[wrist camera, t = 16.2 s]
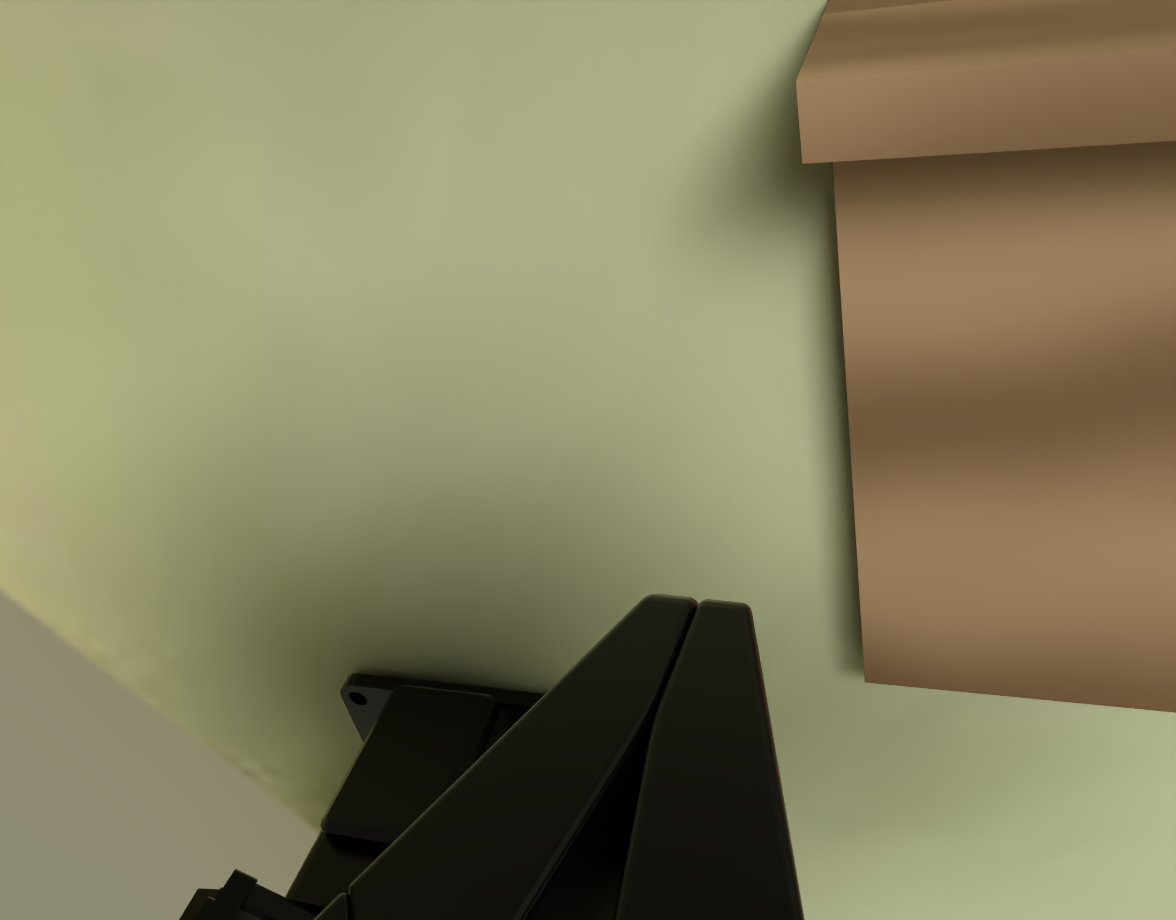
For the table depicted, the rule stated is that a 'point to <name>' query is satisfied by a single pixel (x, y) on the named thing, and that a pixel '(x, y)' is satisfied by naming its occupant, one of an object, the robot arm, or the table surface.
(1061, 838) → the table surface
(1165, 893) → the table surface
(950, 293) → the shelf
